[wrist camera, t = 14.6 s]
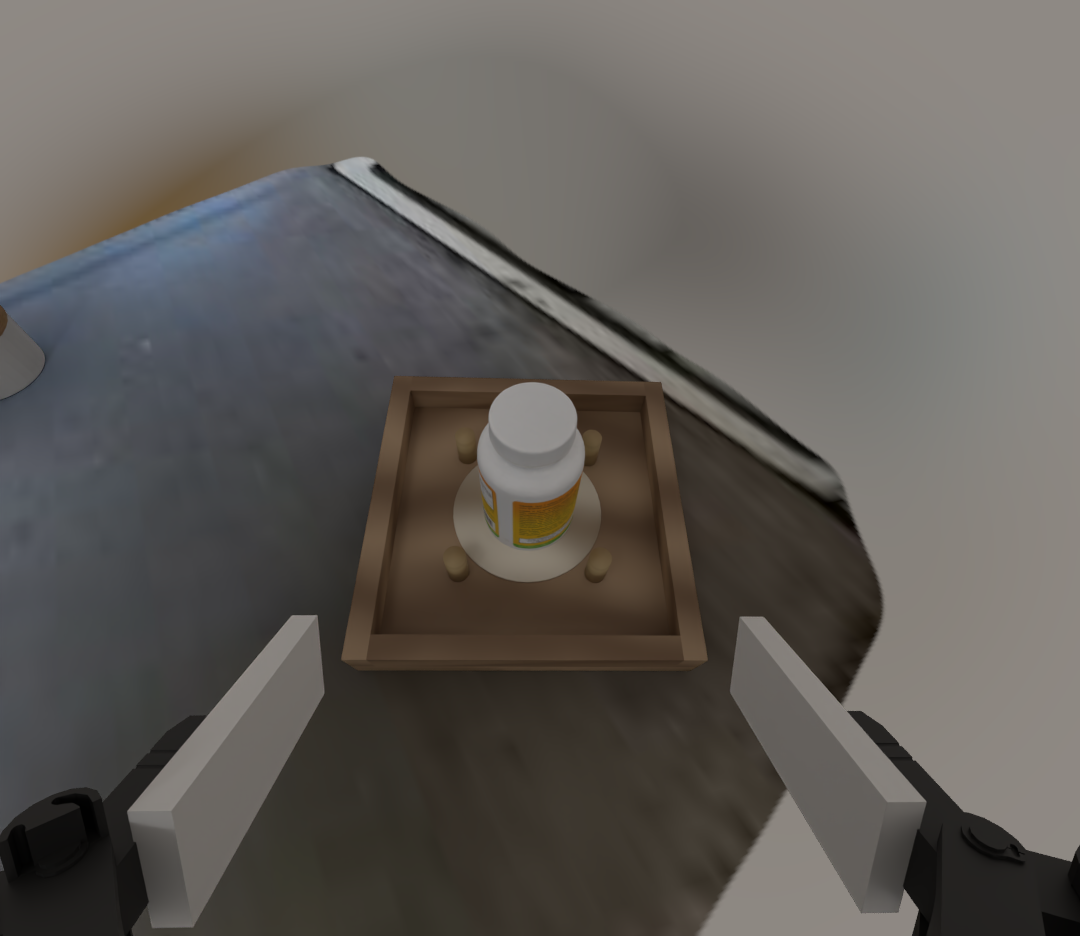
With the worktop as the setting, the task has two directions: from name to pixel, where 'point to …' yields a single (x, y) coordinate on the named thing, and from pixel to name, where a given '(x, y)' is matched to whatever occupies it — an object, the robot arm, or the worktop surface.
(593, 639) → the pin tray
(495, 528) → the supplement bottle
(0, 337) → the coffee cup
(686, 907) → the worktop surface
